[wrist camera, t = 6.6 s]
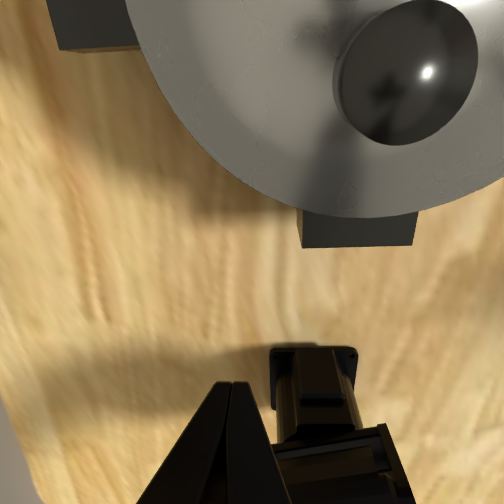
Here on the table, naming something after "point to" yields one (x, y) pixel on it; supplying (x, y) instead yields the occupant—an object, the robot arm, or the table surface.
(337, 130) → the lid
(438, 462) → the table surface
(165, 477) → the robot arm
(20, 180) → the table surface
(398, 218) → the pot
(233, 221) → the table surface
